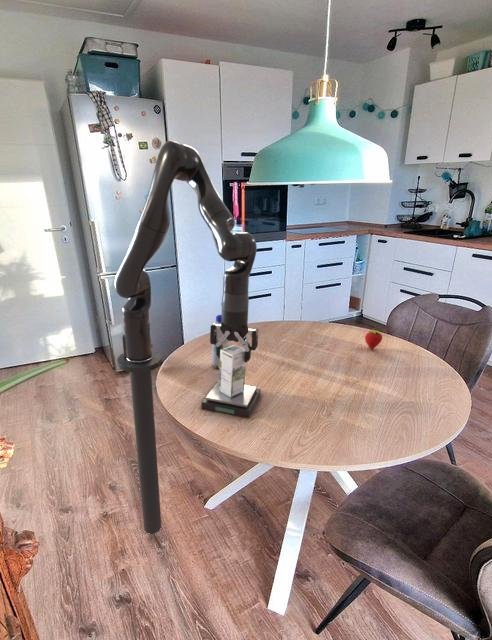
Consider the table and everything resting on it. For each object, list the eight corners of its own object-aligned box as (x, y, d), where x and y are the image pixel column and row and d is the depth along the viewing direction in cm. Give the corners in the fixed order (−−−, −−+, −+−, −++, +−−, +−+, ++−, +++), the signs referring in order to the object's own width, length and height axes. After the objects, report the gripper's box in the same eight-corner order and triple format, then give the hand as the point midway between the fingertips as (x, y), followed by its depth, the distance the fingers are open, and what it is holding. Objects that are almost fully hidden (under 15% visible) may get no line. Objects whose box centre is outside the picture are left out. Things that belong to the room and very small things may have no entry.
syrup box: (231, 385, 124) (233, 343, 118) (244, 392, 120) (247, 349, 114) (218, 390, 120) (219, 348, 114) (231, 398, 117) (233, 354, 110)
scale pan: (205, 399, 117) (205, 397, 117) (218, 382, 127) (218, 379, 127) (246, 407, 114) (247, 405, 113) (256, 388, 124) (257, 386, 124)
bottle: (218, 371, 140) (219, 319, 132) (207, 365, 145) (207, 314, 136) (232, 366, 145) (234, 316, 136) (221, 360, 149) (222, 311, 141)
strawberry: (359, 347, 167) (363, 325, 163) (374, 345, 169) (379, 324, 165) (367, 352, 162) (372, 330, 158) (383, 351, 164) (387, 328, 160)
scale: (201, 409, 117) (201, 402, 116) (216, 387, 130) (216, 381, 129) (248, 418, 114) (249, 411, 113) (260, 395, 126) (260, 389, 125)
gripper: (262, 306, 110) (259, 358, 117) (215, 300, 114) (214, 351, 121) (256, 314, 104) (252, 368, 111) (206, 307, 107) (206, 360, 114)
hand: (233, 359), depth 116 cm, fingers closed on syrup box, 7 cm apart
